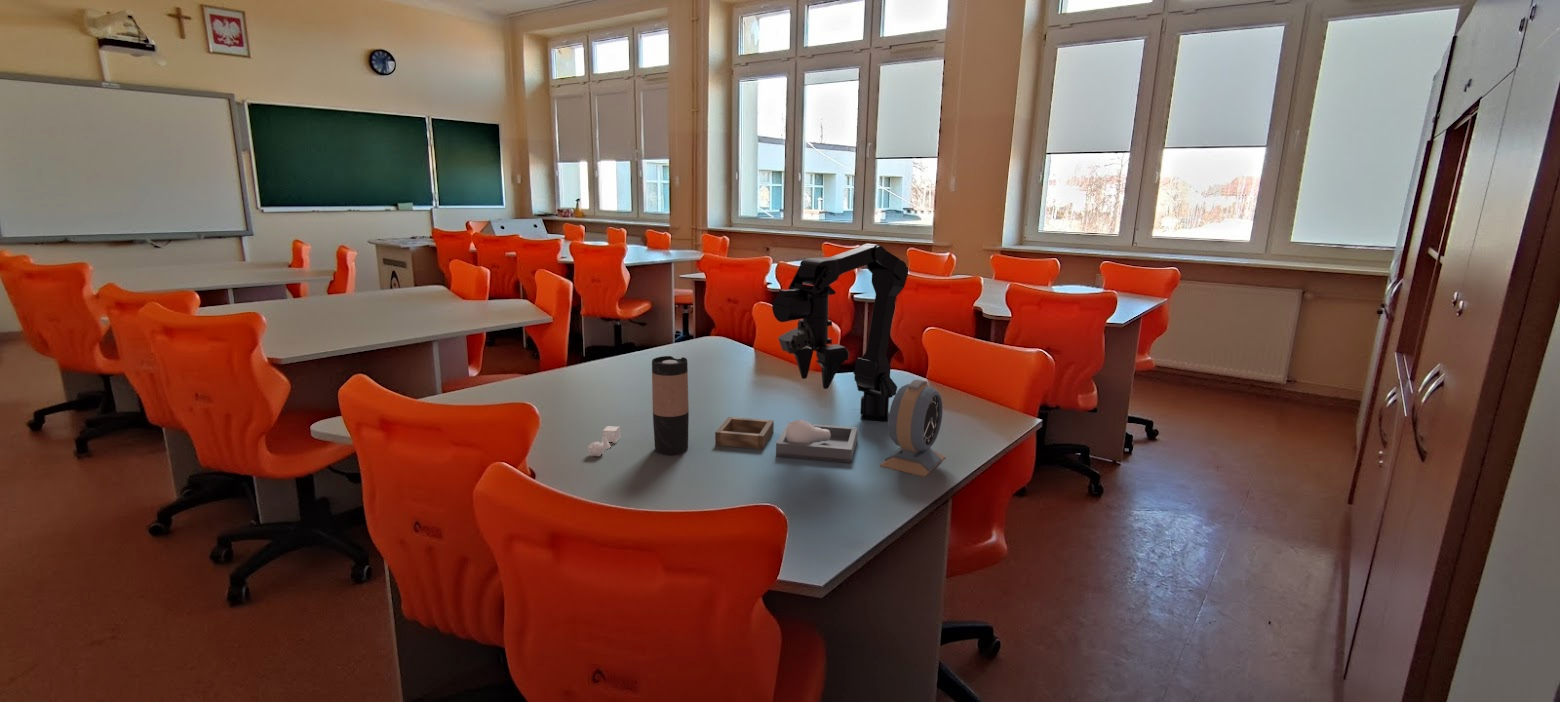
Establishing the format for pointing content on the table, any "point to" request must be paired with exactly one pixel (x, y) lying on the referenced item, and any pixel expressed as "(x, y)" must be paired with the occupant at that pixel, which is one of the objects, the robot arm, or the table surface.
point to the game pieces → (605, 440)
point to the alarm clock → (915, 428)
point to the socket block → (745, 440)
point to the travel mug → (670, 404)
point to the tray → (821, 445)
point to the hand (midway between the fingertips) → (814, 383)
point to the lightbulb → (805, 433)
